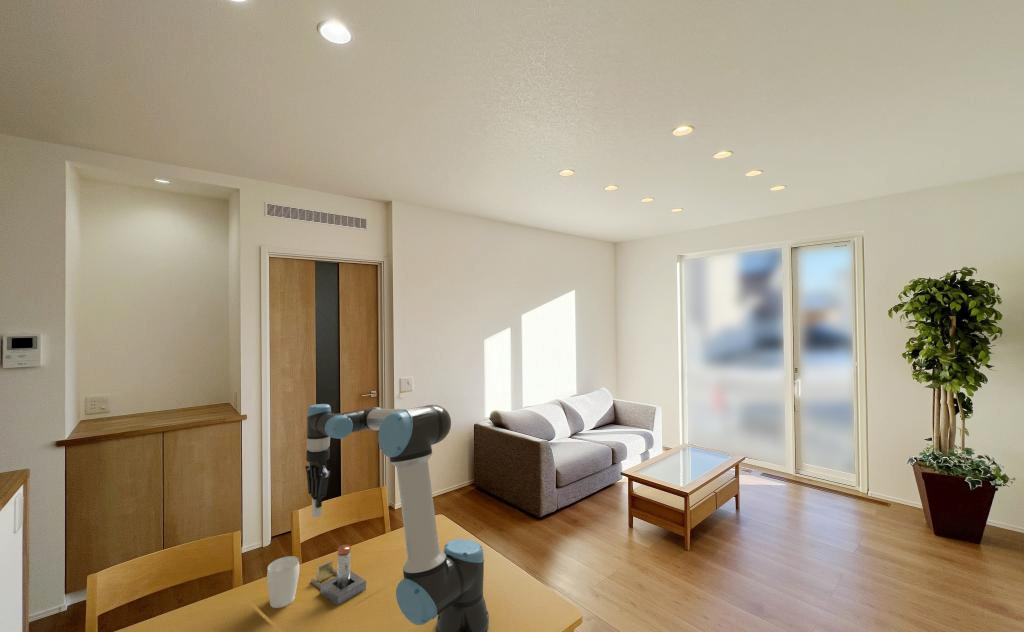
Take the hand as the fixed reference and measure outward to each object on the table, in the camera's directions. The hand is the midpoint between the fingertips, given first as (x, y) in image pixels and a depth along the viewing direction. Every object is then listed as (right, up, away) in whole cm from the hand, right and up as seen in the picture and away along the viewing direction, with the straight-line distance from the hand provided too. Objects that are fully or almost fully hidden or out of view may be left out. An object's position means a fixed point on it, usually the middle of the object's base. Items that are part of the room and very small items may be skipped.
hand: (316, 515), depth 144 cm
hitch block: (+11, -20, -8) cm, 24 cm away
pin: (+14, -19, -11) cm, 26 cm away
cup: (-3, -20, -16) cm, 26 cm away
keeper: (+5, -19, -4) cm, 20 cm away
